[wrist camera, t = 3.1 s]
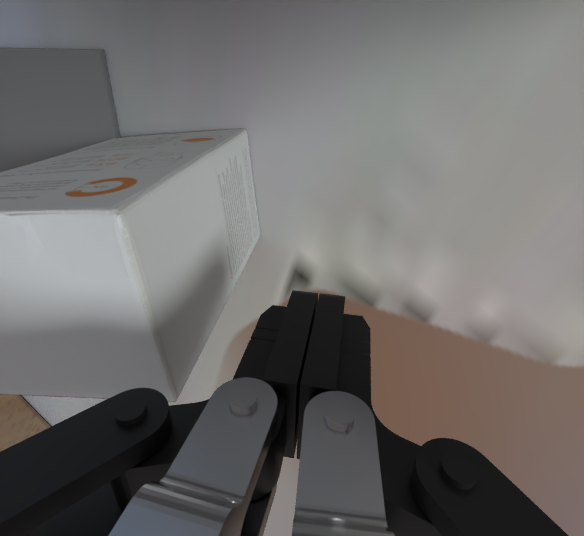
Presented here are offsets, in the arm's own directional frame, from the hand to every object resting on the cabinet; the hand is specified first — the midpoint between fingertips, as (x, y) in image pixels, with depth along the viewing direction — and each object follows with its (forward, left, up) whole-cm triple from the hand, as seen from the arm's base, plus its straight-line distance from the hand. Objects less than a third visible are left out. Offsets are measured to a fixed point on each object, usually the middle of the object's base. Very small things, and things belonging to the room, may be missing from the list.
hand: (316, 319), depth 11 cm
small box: (+9, 0, -11) cm, 14 cm away
